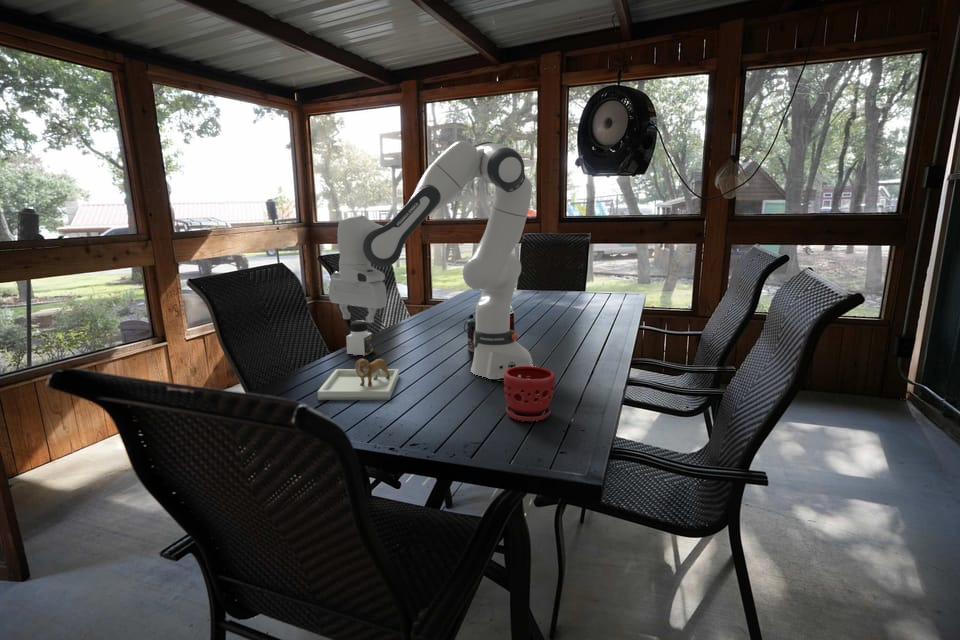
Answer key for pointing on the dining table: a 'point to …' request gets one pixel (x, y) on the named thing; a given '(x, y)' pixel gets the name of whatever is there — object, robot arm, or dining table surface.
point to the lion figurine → (370, 369)
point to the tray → (358, 386)
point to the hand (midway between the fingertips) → (358, 320)
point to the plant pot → (528, 392)
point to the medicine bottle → (359, 339)
